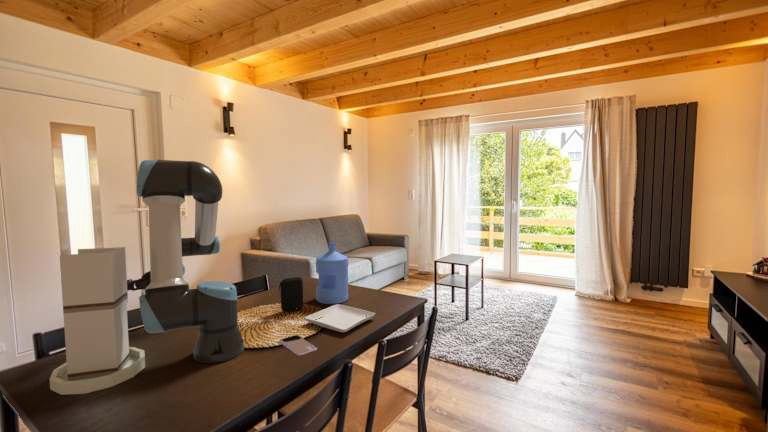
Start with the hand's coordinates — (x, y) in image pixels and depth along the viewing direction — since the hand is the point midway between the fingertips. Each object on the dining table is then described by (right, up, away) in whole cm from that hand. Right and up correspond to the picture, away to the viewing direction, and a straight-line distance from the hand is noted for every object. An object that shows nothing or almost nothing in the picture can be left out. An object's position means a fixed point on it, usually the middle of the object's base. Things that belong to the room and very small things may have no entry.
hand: (119, 296), depth 110 cm
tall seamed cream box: (0, -20, -7) cm, 21 cm away
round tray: (+1, -21, -8) cm, 22 cm away
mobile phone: (+53, -20, +11) cm, 58 cm away
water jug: (+58, -16, +61) cm, 86 cm away
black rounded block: (+42, -17, +45) cm, 64 cm away
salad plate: (+66, -19, +32) cm, 76 cm away
